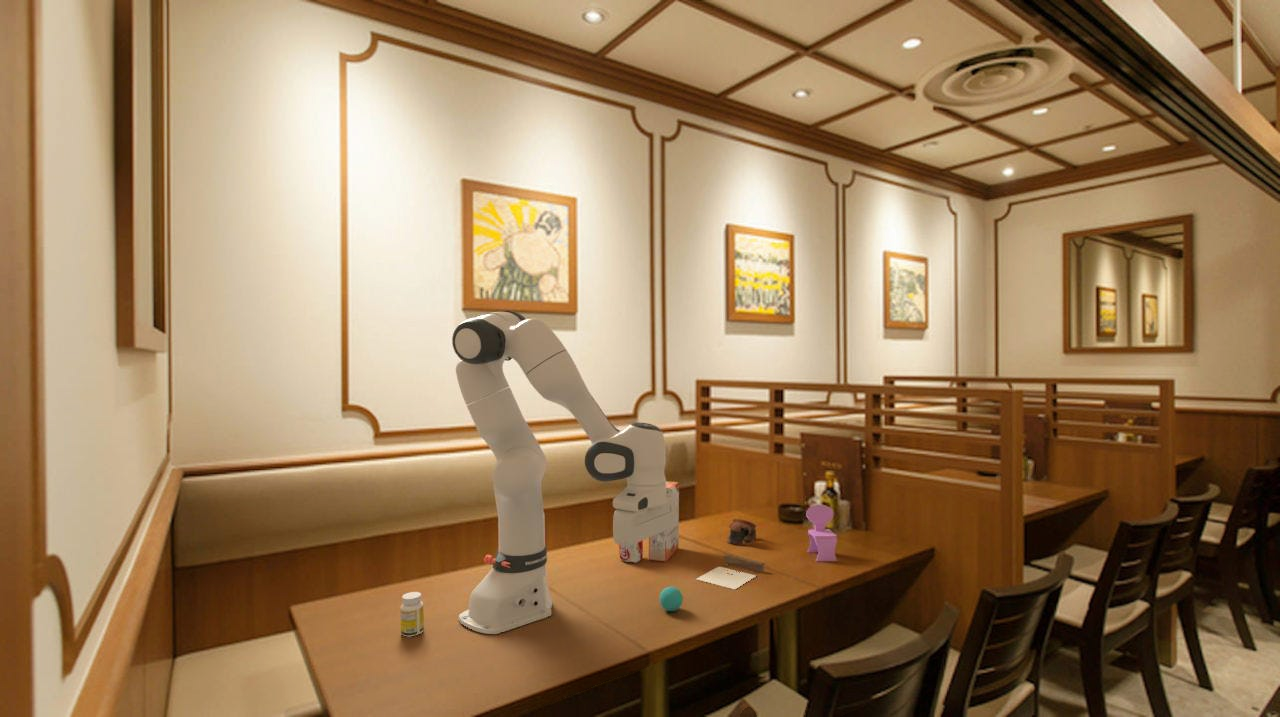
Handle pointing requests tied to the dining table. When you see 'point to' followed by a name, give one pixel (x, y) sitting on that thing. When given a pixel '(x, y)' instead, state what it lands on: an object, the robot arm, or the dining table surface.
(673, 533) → the cracker box
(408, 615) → the supplement bottle
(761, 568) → the strip
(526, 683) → the dining table surface
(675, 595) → the ball
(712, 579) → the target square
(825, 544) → the toy chair
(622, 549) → the soda can
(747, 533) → the pottery mug
